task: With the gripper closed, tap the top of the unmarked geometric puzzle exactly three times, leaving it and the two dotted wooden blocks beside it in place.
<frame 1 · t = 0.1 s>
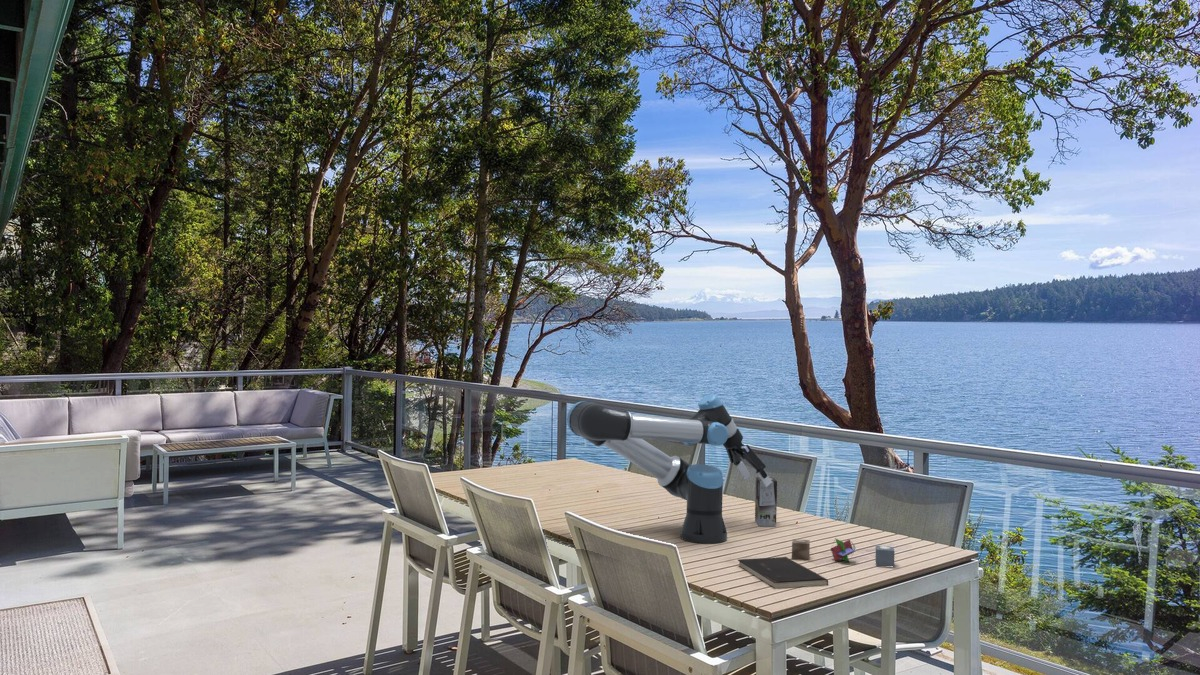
hand: (758, 481, 302), 15 cm above the table, tool tilted 35°, fingers open, 13 cm apart
coffee box: (765, 524, 303), on the table
geometric puzzle: (842, 561, 253), on the table
charcoal dotted block: (884, 565, 250), on the table
hardcover book: (781, 577, 237), on the table
walnut dotted block: (800, 557, 256), on the table
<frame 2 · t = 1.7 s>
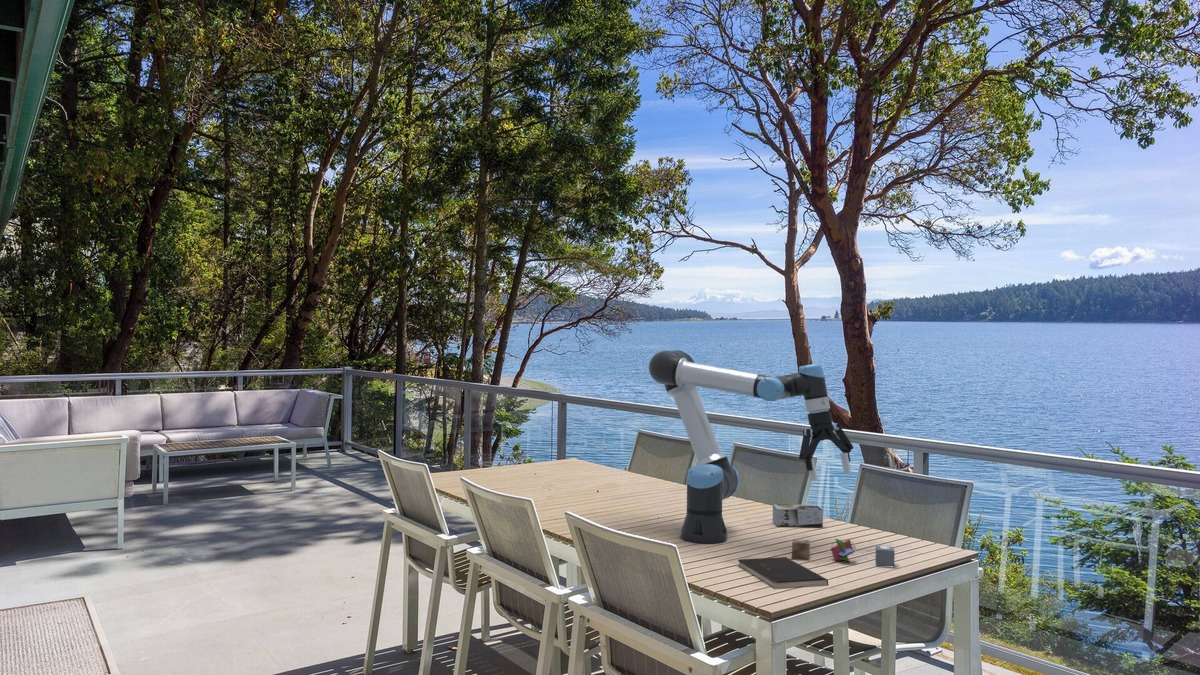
hand: (831, 476, 273), 22 cm above the table, tool pointing down, fingers open, 13 cm apart
coffee box: (774, 514, 303), point 3 cm above the table
everything else where it was.
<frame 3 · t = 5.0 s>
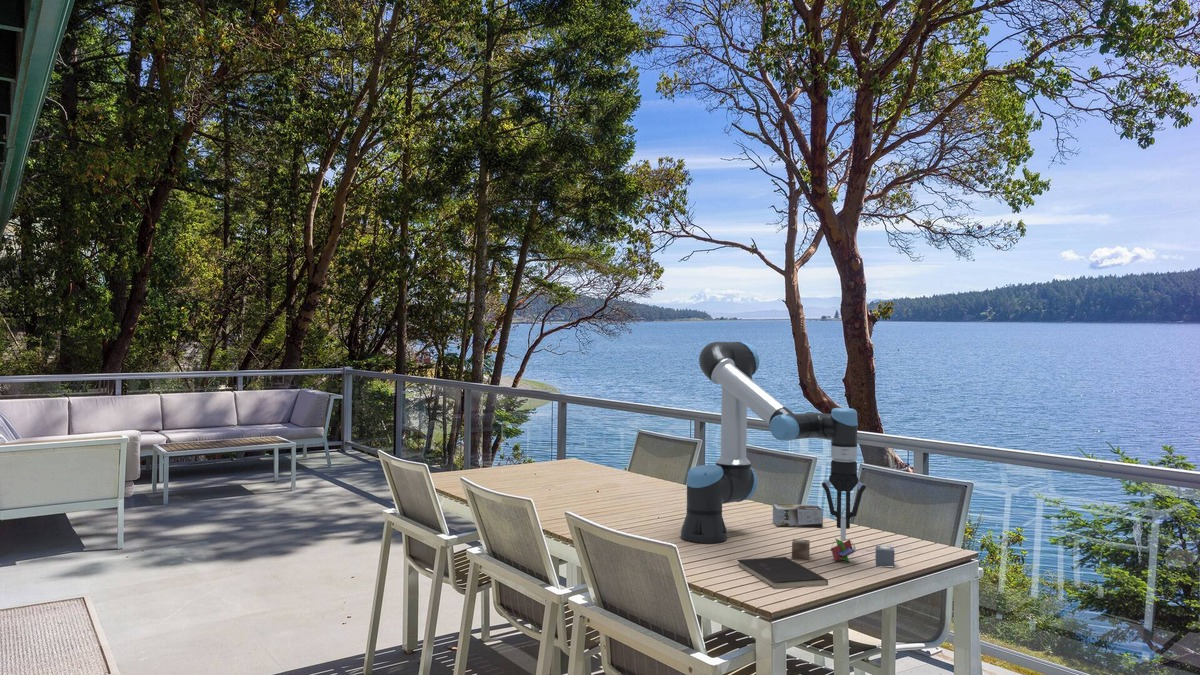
hand: (843, 539, 253), 7 cm above the table, tool pointing down, fingers closed
geometric puzzle: (842, 561, 253), on the table, touching gripper
everything else where it was.
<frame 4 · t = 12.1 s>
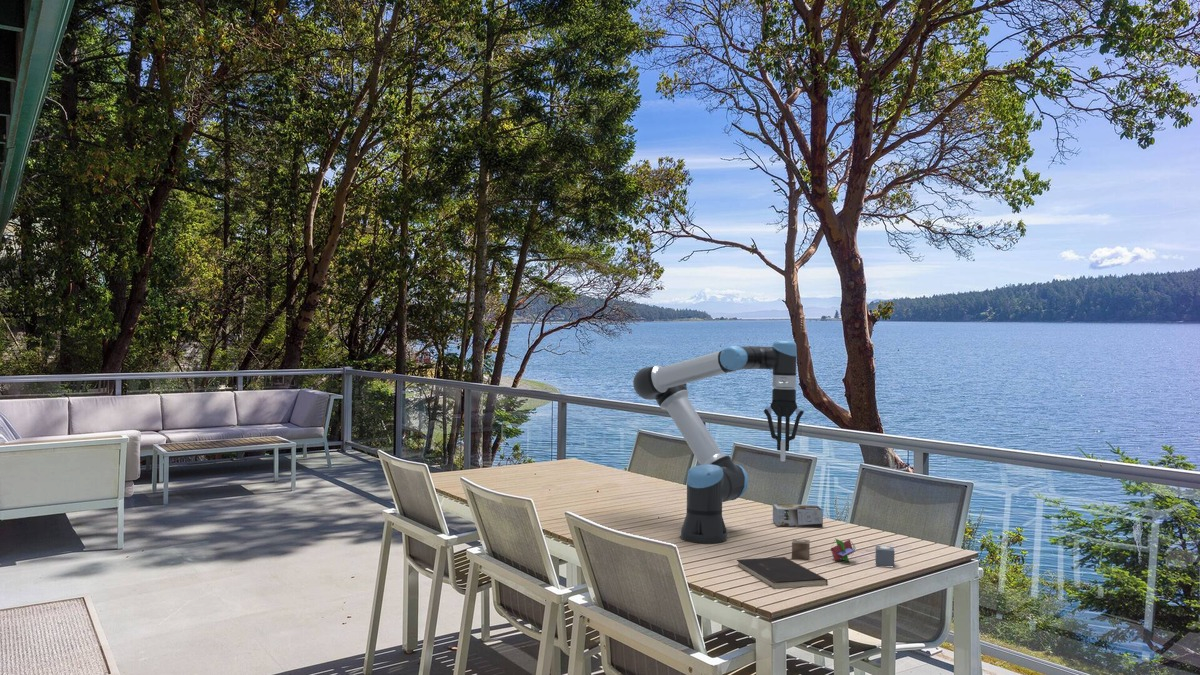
hand: (782, 460, 276), 26 cm above the table, tool pointing down, fingers closed
geometric puzzle: (842, 561, 253), on the table
everything else where it was.
at the end: geometric puzzle moved 0.2 cm from its start; walnut dotted block moved 0.1 cm from its start; charcoal dotted block moved 0.1 cm from its start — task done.
